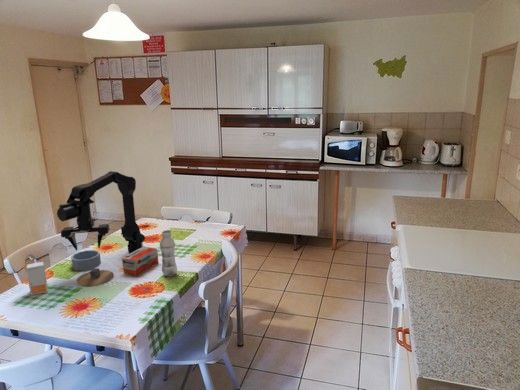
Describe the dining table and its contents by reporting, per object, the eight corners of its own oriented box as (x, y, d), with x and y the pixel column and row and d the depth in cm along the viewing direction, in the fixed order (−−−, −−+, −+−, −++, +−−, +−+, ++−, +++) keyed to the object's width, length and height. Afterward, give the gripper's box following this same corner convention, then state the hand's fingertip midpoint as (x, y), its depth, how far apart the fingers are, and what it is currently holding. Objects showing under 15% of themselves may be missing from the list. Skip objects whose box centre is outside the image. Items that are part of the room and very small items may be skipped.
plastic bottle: (180, 272, 171) (177, 230, 166) (172, 278, 165) (168, 235, 160) (167, 270, 173) (164, 228, 168) (159, 277, 167) (155, 233, 162)
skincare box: (30, 295, 152) (25, 268, 150) (31, 291, 156) (26, 264, 153) (47, 292, 155) (43, 265, 152) (48, 287, 159) (43, 261, 156)
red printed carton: (145, 261, 184) (143, 245, 182) (159, 263, 181) (157, 247, 179) (123, 274, 171) (121, 257, 169) (137, 277, 168) (136, 260, 166)
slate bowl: (103, 259, 187) (102, 249, 186) (95, 269, 175) (94, 259, 174) (78, 260, 186) (77, 250, 185) (68, 271, 174) (67, 260, 173)
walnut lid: (118, 270, 175) (117, 262, 174) (108, 286, 160) (107, 277, 159) (84, 272, 173) (83, 263, 172) (71, 288, 159) (69, 278, 158)
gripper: (109, 208, 174) (112, 240, 178) (65, 211, 170) (69, 244, 174) (105, 215, 164) (109, 249, 167) (58, 218, 160) (63, 253, 163)
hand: (88, 248), depth 168 cm, fingers open, 9 cm apart
